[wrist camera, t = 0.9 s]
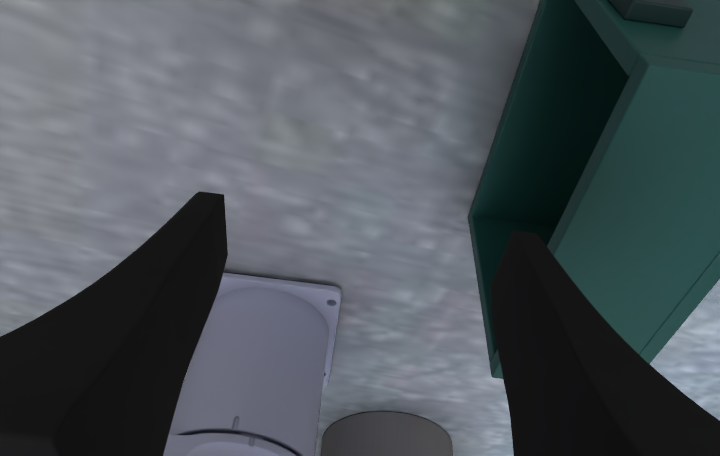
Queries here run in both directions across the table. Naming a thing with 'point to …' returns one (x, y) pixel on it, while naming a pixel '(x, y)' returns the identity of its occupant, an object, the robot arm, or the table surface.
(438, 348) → the table surface
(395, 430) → the coffee mug
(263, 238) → the table surface
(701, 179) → the teal open crate
